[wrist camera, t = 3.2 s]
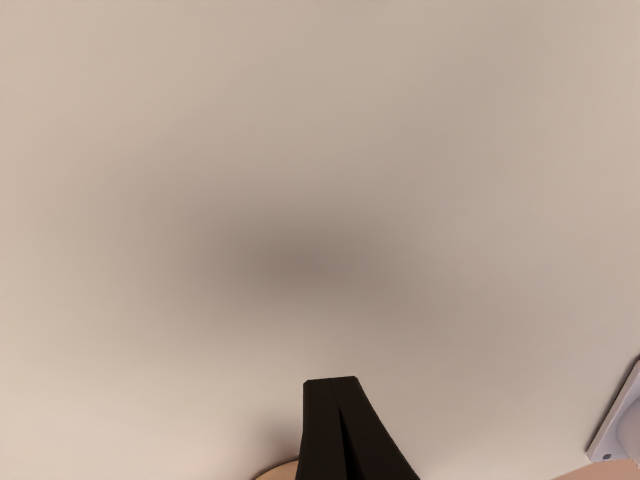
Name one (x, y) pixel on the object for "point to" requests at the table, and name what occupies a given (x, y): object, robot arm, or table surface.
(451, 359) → the table surface
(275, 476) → the teacup with lid
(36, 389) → the table surface
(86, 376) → the table surface
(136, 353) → the table surface
